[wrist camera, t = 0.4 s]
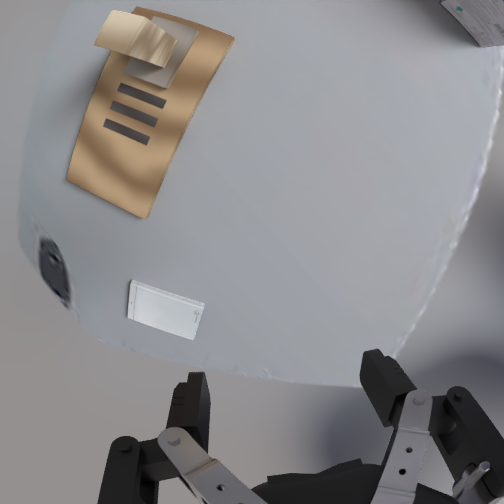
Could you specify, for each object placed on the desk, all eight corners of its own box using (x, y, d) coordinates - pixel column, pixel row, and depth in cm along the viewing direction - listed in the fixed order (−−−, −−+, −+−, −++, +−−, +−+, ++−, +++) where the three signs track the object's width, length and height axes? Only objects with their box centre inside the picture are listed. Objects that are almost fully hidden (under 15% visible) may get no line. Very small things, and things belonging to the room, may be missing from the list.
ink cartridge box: (491, 31, 21) (552, 26, 8) (482, 49, 23) (547, 47, 11) (449, -14, 19) (505, -36, 6) (438, 3, 21) (499, -20, 8)
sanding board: (140, 9, 25) (136, 6, 23) (235, 40, 27) (233, 37, 26) (71, 177, 36) (66, 179, 34) (148, 215, 38) (144, 219, 37)
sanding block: (157, 18, 25) (114, -12, 14) (199, 32, 26) (170, -2, 15) (128, 73, 28) (74, 65, 17) (168, 88, 29) (124, 81, 19)
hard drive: (204, 307, 44) (130, 283, 43) (193, 341, 48) (126, 319, 46) (206, 301, 46) (133, 277, 44) (195, 335, 49) (129, 313, 48)
